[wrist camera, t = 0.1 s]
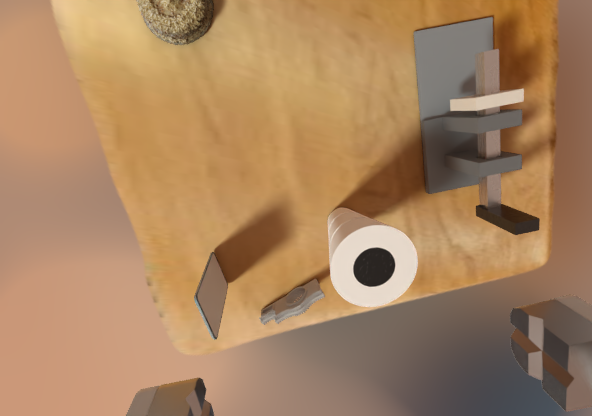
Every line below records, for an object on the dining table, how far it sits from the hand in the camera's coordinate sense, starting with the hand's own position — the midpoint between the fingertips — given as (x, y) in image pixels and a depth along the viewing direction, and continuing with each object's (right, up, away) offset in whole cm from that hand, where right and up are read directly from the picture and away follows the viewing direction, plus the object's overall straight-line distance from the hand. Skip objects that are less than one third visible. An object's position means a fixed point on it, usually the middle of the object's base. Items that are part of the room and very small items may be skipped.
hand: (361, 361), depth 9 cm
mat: (+23, +25, +44) cm, 56 cm away
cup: (+6, +2, +49) cm, 50 cm away
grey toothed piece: (-3, -12, +52) cm, 54 cm away
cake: (-18, +32, +39) cm, 54 cm away
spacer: (+24, +20, +41) cm, 52 cm away
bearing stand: (+25, +13, +48) cm, 55 cm away
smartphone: (-15, -6, +50) cm, 52 cm away
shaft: (+25, +14, +40) cm, 49 cm away
